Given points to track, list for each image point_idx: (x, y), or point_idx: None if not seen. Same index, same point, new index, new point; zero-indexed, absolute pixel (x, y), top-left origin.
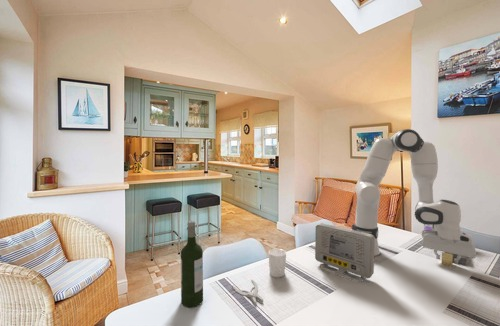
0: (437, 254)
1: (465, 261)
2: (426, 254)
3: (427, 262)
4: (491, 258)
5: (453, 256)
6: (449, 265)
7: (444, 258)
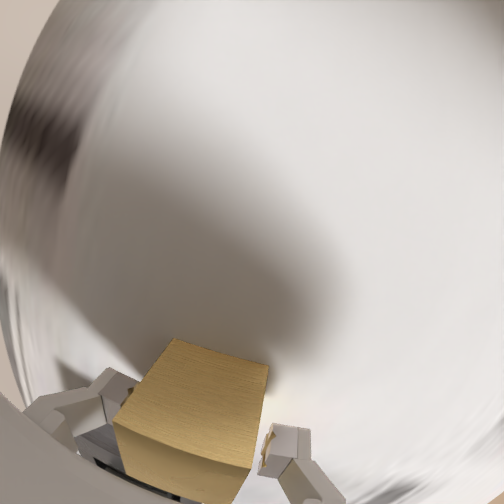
0: (294, 475)
1: None
2: None
3: (406, 352)
4: None
5: None
6: (192, 351)
7: (224, 420)
